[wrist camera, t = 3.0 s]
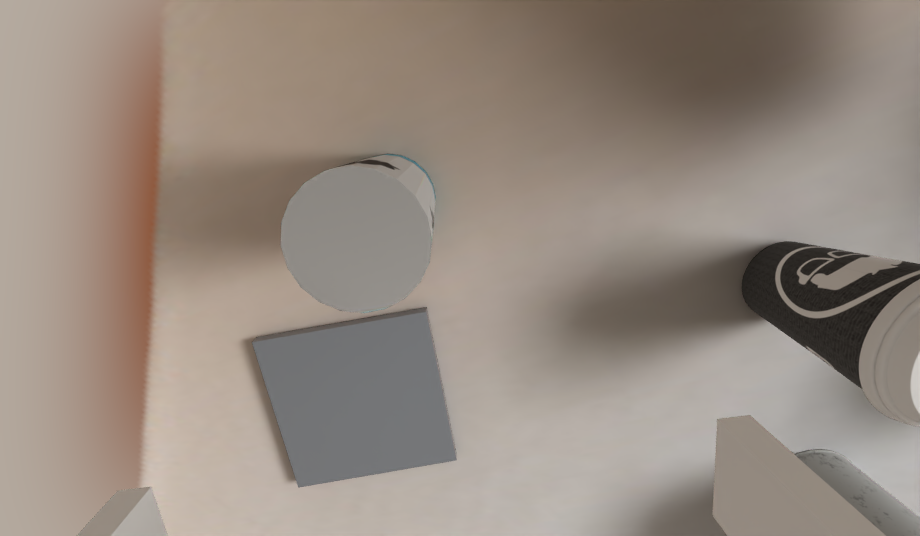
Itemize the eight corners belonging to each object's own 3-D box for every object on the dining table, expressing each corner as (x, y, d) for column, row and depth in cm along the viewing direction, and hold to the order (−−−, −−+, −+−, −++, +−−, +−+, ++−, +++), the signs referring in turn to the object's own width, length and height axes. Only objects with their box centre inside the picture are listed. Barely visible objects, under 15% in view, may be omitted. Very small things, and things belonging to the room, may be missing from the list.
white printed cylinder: (331, 172, 35) (253, 197, 20) (416, 140, 34) (398, 142, 20) (367, 255, 36) (319, 332, 22) (448, 225, 36) (453, 284, 22)
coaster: (256, 337, 38) (251, 342, 37) (426, 307, 38) (426, 311, 37) (301, 479, 42) (298, 487, 41) (456, 452, 41) (456, 460, 41)
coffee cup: (702, 312, 39) (857, 415, 24) (761, 205, 36) (971, 249, 22) (798, 348, 40) (1000, 466, 26) (861, 246, 38) (1120, 314, 23)
